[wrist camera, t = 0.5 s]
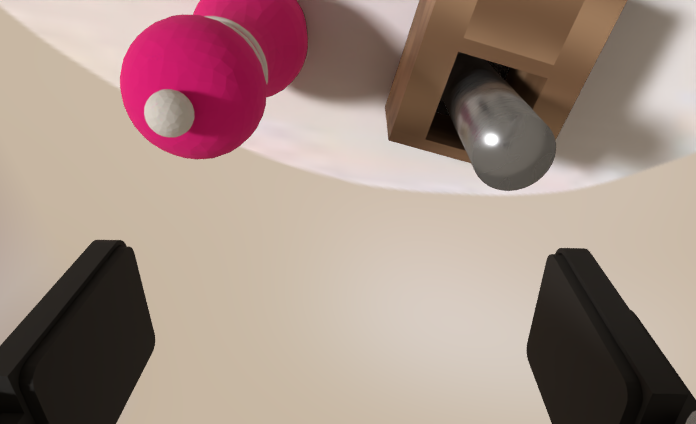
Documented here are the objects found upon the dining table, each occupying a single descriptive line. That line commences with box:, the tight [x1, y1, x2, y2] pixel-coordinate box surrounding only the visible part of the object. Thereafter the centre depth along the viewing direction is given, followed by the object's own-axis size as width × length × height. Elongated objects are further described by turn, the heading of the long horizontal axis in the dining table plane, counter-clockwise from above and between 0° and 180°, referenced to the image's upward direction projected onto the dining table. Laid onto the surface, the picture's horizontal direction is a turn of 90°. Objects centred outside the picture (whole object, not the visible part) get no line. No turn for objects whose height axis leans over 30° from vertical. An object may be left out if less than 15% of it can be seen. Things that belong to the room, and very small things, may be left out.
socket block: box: [385, 0, 627, 163], centre depth 32 cm, size 12×10×7 cm
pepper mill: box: [120, 0, 308, 159], centre depth 27 cm, size 7×7×20 cm
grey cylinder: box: [441, 53, 556, 191], centre depth 31 cm, size 4×4×14 cm
